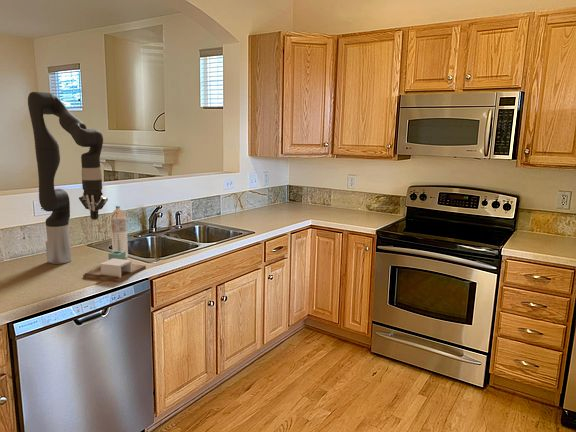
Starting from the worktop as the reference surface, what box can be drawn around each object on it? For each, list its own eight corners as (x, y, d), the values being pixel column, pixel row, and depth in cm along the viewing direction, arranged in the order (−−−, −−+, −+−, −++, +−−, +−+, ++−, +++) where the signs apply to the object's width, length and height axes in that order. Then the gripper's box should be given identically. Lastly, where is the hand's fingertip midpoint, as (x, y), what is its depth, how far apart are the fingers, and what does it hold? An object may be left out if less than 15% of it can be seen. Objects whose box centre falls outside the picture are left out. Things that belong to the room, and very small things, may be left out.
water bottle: (113, 256, 212) (110, 205, 207) (128, 255, 214) (125, 204, 209) (112, 260, 206) (109, 207, 201) (128, 258, 208) (125, 207, 203)
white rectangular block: (101, 275, 180) (100, 263, 179) (113, 269, 187) (113, 258, 186) (120, 277, 177) (119, 265, 176) (132, 271, 185) (131, 260, 184)
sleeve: (109, 266, 192) (108, 253, 191) (116, 263, 197) (115, 250, 195) (119, 267, 191) (118, 254, 189) (126, 264, 195) (125, 251, 194)
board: (83, 277, 181) (82, 263, 180) (112, 264, 199) (112, 251, 198) (118, 282, 177) (117, 267, 176) (145, 268, 195) (145, 254, 194)
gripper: (111, 178, 183) (113, 218, 186) (84, 176, 187) (87, 216, 190) (99, 180, 176) (102, 222, 179) (71, 178, 179) (75, 220, 183)
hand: (94, 219), depth 185 cm, fingers closed
